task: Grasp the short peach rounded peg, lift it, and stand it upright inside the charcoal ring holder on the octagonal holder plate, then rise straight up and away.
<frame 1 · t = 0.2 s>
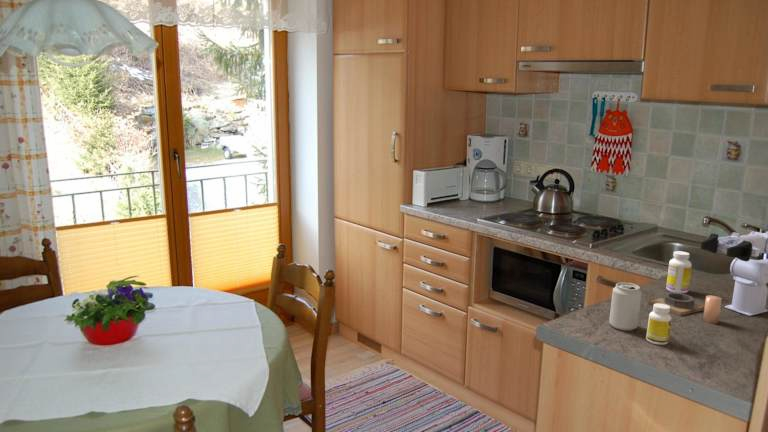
hand: (714, 249, 179), 21 cm above the worktop, tool horizontal, fingers open, 7 cm apart
can: (622, 327, 177), on the worktop
supplement bottle: (656, 341, 168), on the worktop
octagonal holder plate: (678, 306, 195), on the worktop
supplement bottle 2: (676, 291, 210), on the worktop
peach rounded peg: (710, 320, 184), on the worktop
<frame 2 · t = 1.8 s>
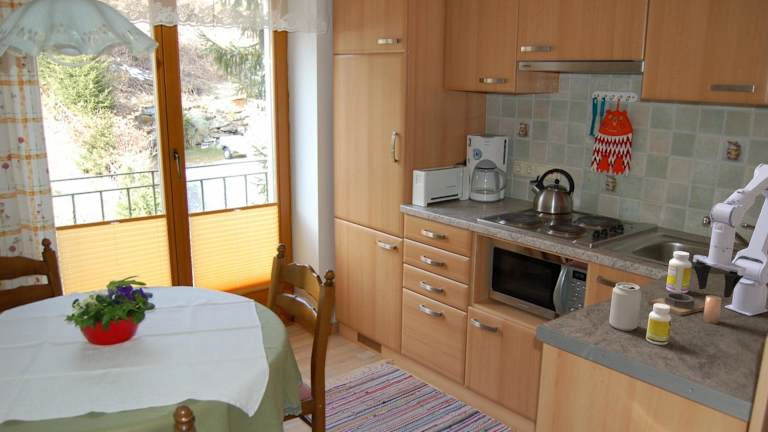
hand: (714, 292, 182), 8 cm above the worktop, tool pointing down, fingers open, 7 cm apart
nothing on the worktop moved.
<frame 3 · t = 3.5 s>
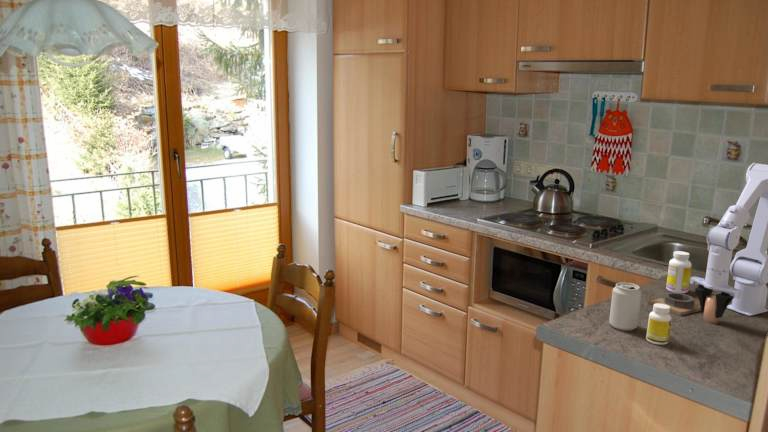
hand: (711, 314, 183), 2 cm above the worktop, tool pointing down, fingers closed on peach rounded peg, 4 cm apart
peach rounded peg: (710, 320, 184), on the worktop, touching gripper
everything else where it was.
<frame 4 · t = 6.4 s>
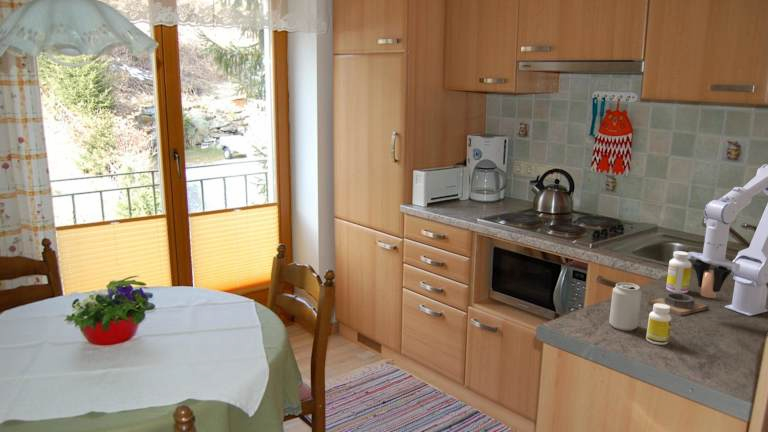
hand: (708, 289, 184), 9 cm above the worktop, tool pointing down, fingers closed on peach rounded peg, 4 cm apart
peach rounded peg: (708, 295, 184), point 7 cm above the worktop, touching gripper
everything else where it was.
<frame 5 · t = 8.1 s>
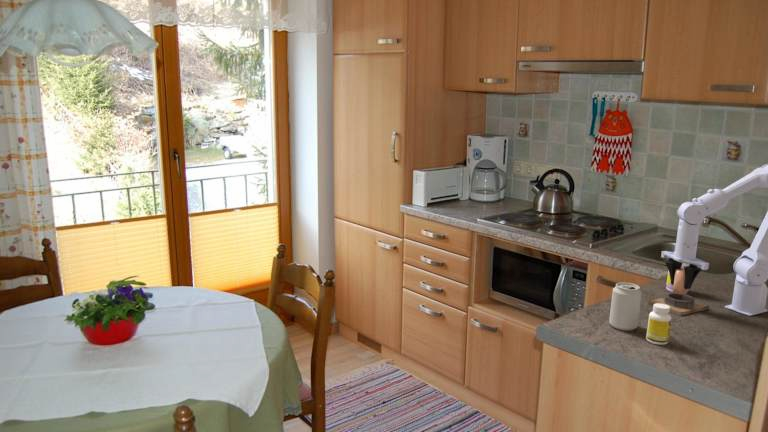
hand: (680, 286, 193), 6 cm above the worktop, tool pointing down, fingers closed on peach rounded peg, 4 cm apart
peach rounded peg: (679, 292, 194), point 4 cm above the worktop, touching gripper
everything else where it was.
when the fingers open (4 cm above the worktop, at t = 9.5 s): peach rounded peg drops 1 cm, resting on octagonal holder plate.
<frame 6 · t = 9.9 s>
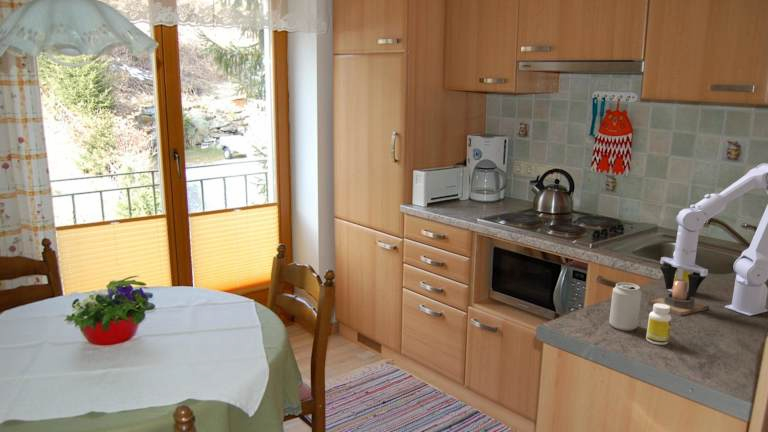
hand: (679, 292, 194), 4 cm above the worktop, tool pointing down, fingers open, 7 cm apart
peach rounded peg: (678, 303, 195), point 1 cm above the worktop, touching octagonal holder plate
everything else where it was.
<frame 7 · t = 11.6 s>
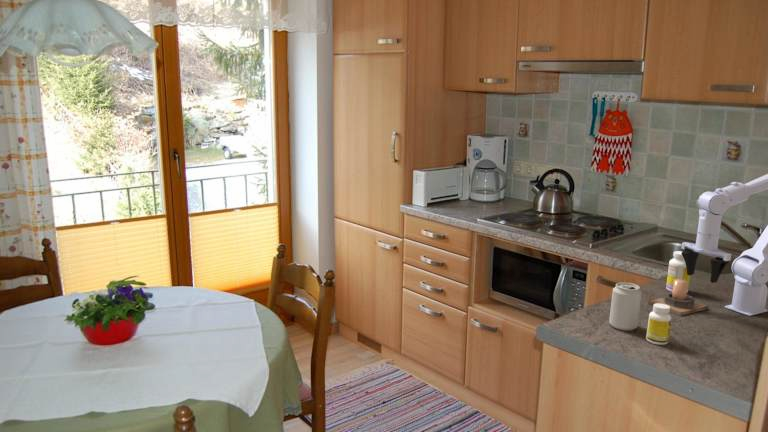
hand: (701, 278, 189), 10 cm above the worktop, tool pointing down, fingers open, 7 cm apart
nothing on the worktop moved.
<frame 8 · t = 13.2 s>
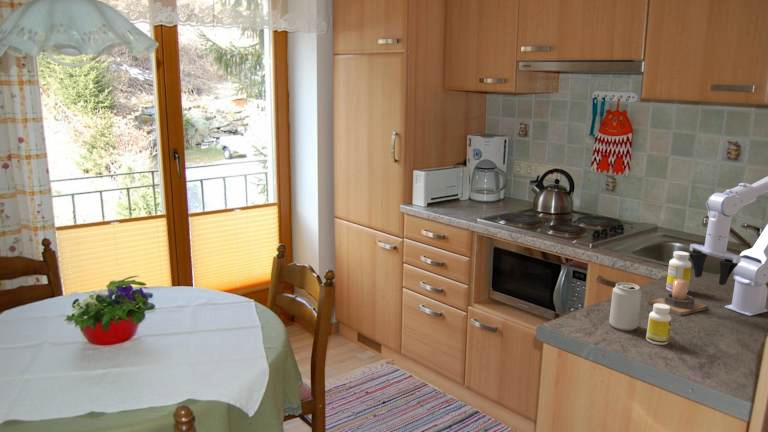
hand: (710, 280, 187), 10 cm above the worktop, tool pointing down, fingers open, 7 cm apart
nothing on the worktop moved.
at the end: peach rounded peg 0.0 cm off-centre on the octagonal holder plate, point 1.0 cm above the octagonal holder plate's base; peach rounded peg tilted 1°; the gripper is holding nothing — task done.
